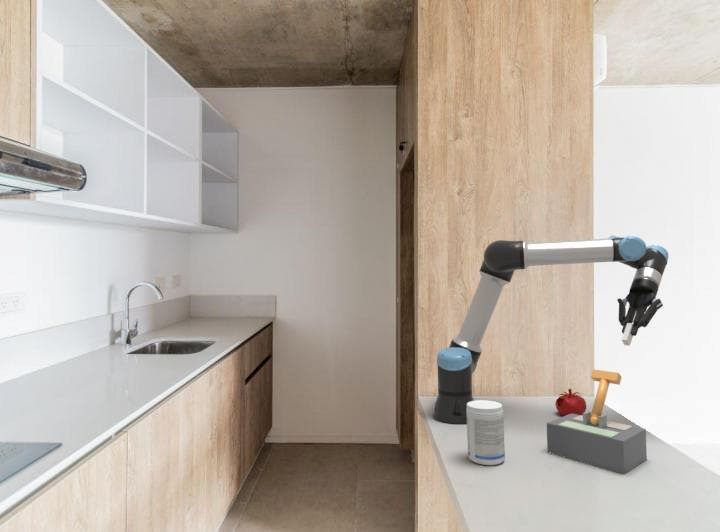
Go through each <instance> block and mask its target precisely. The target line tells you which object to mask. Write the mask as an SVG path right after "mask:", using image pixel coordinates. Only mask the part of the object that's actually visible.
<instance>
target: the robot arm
mask: <svg viewBox="0 0 720 532" xmlns="http://www.w3.org/2000/svg"><path fill="white" fill-rule="evenodd" d="M668 260H669V251H668V250H667V249H666V248H665V247H663V246H662V245H661V246H660V245H654V244H651V245H648V246H647V245H646V242H645V241H644V240H643V239H642V238H640V237H639V236H634V235H628V236H626V237H624V236H623V237H621V236H616V235H614V234H613V235H612V234H611V235H610V236H609V237H607V238H593V239H579V240H578V239H577V240H564V241H563V240H562V241H547V242H546V241H544V242H543V241H542V242H530V243H529V242H526V240H503V239H502V240H501V239H499V240H495V241H492V242H491V243H489V245H487V246H486V248H485V250H484V253H483V260H482V263H481V266H480V268H479V275H480V280H479V282H478V284H477V286H476V290H475V292H474V295H473V297H472V300H471V303H470V305H469V307H468V310H467V312H466V315H465V317H464V320H463V323H462V325H461V327H460V329H459V332H458V335H457V336H455V337H453V338H452V339H451V341H450V344H449V347H446V348H442V349H440V350H439V351H438V353H437V359H436V363H437V391H438V392H437V398H436V401H435V404H434V408H433V418H434V419H435V420H436V421H439V422H442V423H446V424H453V425H455V424H457V425H459V424H467V410H466V409H467V403H468V402H470V401H475V400H474V397H473V374H474V373H475V371H476V368H477V366H478V365H477V364H478V362H479V359H480V358H481V354H482V353H483V350H482V348H481V344H482V341H483V339H484V336H485V334H486V331H487V328H488V326H489V323H490V321H491V318H492V317H493V316H492V315H493V313H494V311H495V308H496V306H497V304H498V301H499V298H500V296H501V294H502V291H503V289H504V286H506V285H508V284H510V282H511V281H512V278H513V276H514V273H515V271H516V270H517V271H518V270H527V268H529V267H532V266H533V267H534V266H551V265H552V266H554V265H573V264H592V263H593V264H594V263H612V262H613V263H617V262H618V263H621V264H624V265H626V266H628V267H631V268H633V269H636V271H635V274H634V276H633V280H632V282H631V284H630V288H629V291H628V292H629V293H628V294H627V295H626V296H625V298H617V303H618V322H619V324H620V326H621V327H622V329H621V333H622V337H621V341H622V344H623V345H624V346H631V343H632V341H633V337H635V336H636V335H638V331H639V329H640V328H642V327H643V328H646V327H647V326H648V325H649V324H650V322H651V320H652V319H653V317H654V316H655V315H656V313H657V312H658V310H660V309H661V308H662V307H663V306H664V304H663V302H662V301H661V299H660V298H657V295H658V291H659V288H660V285H661V282H662V279H663V275H664V272H665V270H666V267H667V265H668ZM627 304H629V305H628V309H627V312H626V307H627Z"/></svg>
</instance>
